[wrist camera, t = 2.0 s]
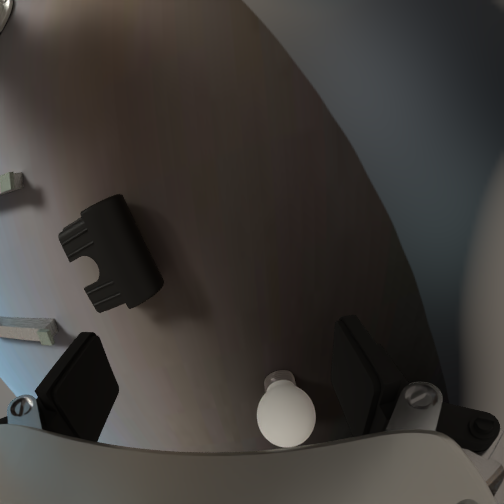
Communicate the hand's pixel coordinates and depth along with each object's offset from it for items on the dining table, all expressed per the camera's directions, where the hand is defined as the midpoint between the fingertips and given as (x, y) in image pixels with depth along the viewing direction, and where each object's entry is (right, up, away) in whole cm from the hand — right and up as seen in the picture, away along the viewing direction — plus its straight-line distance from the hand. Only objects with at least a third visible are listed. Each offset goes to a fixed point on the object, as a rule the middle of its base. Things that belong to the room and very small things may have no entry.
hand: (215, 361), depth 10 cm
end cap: (-13, +5, +20) cm, 24 cm away
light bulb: (+5, -13, +26) cm, 29 cm away
